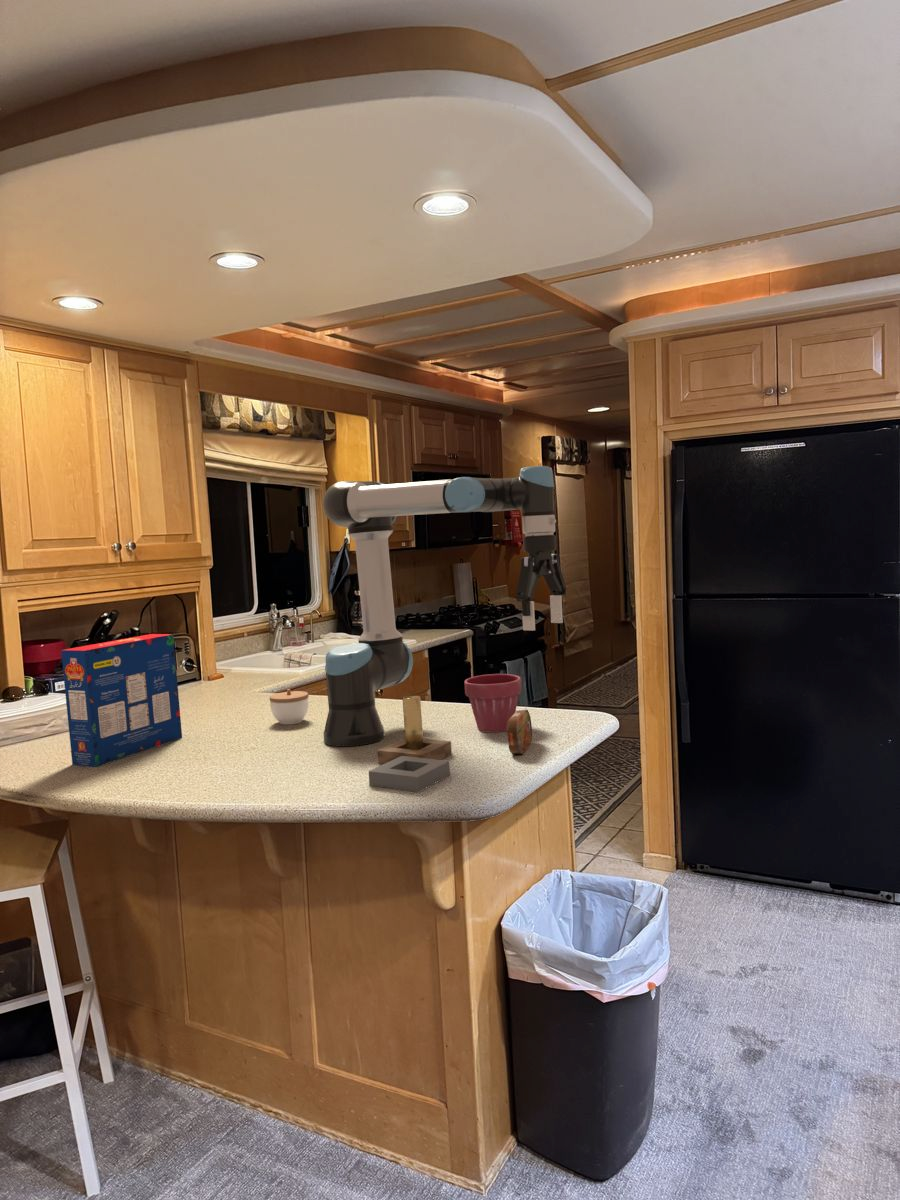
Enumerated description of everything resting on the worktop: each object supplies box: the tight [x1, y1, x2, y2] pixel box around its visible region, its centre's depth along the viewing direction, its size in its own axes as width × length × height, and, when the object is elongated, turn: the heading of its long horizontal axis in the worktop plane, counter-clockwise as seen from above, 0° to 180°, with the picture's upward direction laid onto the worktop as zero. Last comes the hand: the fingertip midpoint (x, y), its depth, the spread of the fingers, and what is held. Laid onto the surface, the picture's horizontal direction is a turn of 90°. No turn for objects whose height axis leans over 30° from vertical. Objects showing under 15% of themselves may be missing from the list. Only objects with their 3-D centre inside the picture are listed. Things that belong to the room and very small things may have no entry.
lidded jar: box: [269, 688, 310, 726], centre depth 232 cm, size 11×11×9 cm
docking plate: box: [368, 756, 451, 793], centre depth 170 cm, size 12×12×3 cm
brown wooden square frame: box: [376, 737, 453, 765], centre depth 187 cm, size 12×12×3 cm
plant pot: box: [464, 673, 522, 733], centre depth 210 cm, size 14×14×13 cm
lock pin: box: [402, 695, 424, 750], centre depth 186 cm, size 4×4×14 cm
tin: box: [506, 709, 533, 755], centre depth 189 cm, size 15×3×8 cm, turn 163°
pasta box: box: [60, 633, 183, 768], centre depth 209 cm, size 28×8×28 cm, turn 154°
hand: (543, 626), depth 192 cm, fingers open, 13 cm apart
